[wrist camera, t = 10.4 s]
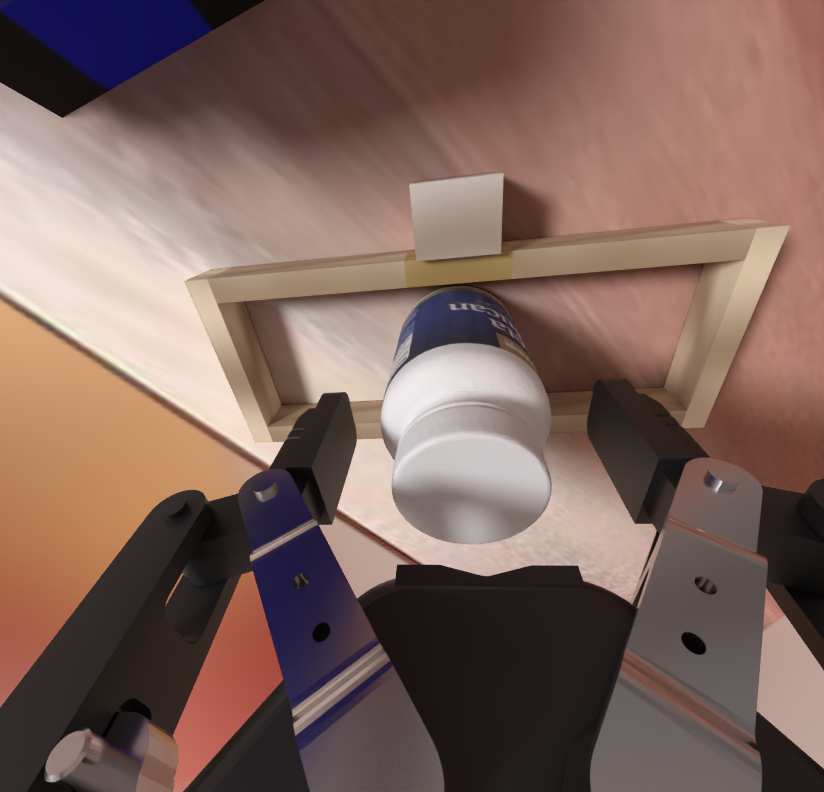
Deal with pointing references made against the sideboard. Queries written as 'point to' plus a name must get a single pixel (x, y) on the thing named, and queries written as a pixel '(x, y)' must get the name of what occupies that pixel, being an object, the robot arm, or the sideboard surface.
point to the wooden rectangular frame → (494, 260)
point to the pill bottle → (466, 421)
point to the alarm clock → (96, 43)
